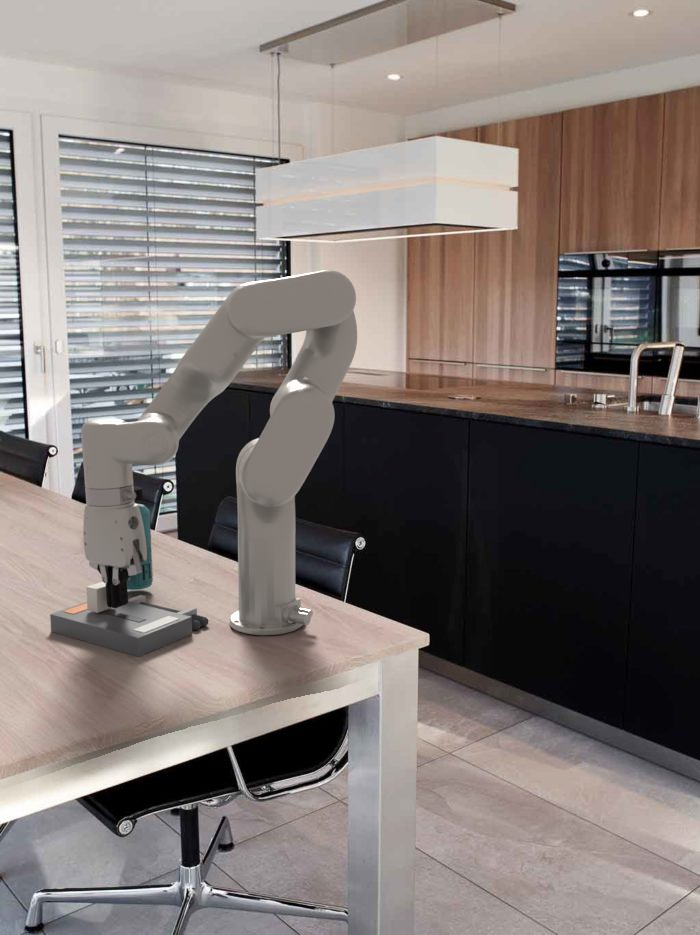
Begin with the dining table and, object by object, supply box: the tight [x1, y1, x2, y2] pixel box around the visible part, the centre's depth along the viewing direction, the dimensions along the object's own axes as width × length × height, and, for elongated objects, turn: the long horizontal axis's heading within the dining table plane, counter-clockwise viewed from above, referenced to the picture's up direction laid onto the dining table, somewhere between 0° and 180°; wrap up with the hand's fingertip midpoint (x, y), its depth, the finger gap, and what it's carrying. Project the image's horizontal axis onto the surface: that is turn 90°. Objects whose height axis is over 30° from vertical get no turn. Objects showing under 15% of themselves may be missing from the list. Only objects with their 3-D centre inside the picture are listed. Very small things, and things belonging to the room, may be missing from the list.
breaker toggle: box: [86, 581, 112, 613], centre depth 157 cm, size 2×4×4 cm, turn 147°
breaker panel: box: [49, 601, 193, 658], centre depth 155 cm, size 20×12×3 cm, turn 57°
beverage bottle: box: [122, 486, 154, 591], centre depth 175 cm, size 6×7×20 cm
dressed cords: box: [128, 594, 209, 631], centre depth 163 cm, size 20×4×2 cm, turn 57°
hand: (117, 605), depth 156 cm, fingers closed
